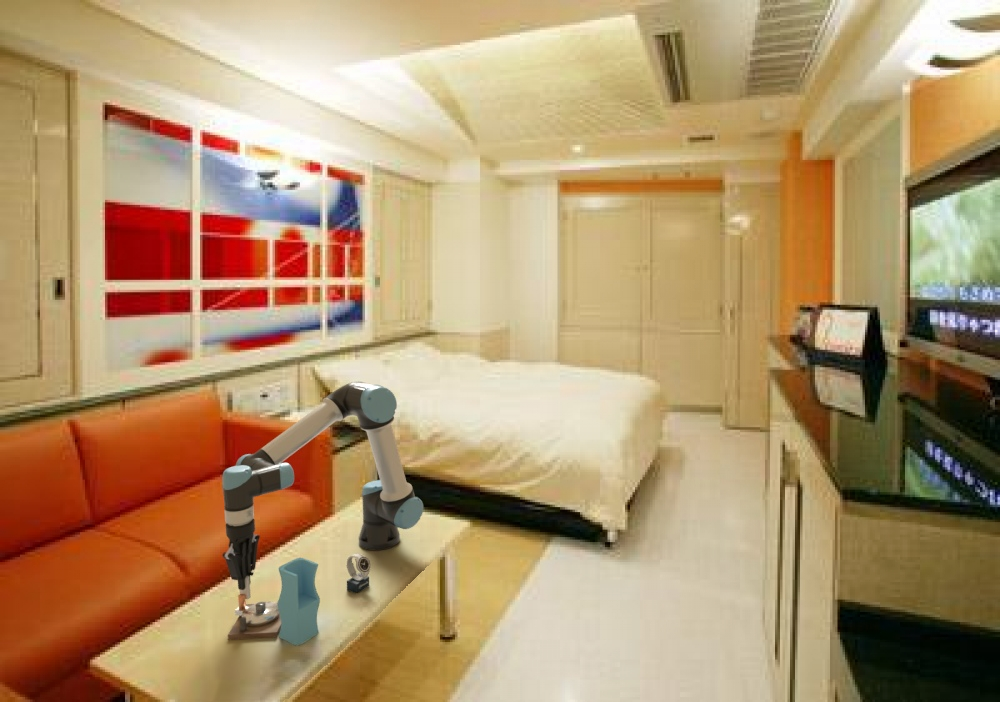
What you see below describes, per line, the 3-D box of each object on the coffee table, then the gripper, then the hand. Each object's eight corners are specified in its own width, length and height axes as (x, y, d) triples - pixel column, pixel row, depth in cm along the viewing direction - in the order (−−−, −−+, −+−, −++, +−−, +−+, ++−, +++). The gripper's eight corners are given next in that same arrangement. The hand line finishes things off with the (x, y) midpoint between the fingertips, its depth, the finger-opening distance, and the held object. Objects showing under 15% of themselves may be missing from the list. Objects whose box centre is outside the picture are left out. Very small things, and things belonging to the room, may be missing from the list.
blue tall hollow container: (297, 646, 152) (294, 576, 150) (278, 637, 156) (275, 568, 154) (321, 631, 159) (318, 563, 156) (302, 622, 163) (299, 556, 161)
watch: (361, 595, 177) (360, 562, 176) (343, 588, 181) (342, 555, 180) (374, 587, 182) (373, 554, 181) (355, 580, 186) (354, 548, 185)
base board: (246, 608, 170) (246, 593, 169) (291, 606, 171) (290, 590, 170) (228, 639, 155) (227, 622, 154) (277, 637, 156) (276, 620, 156)
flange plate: (286, 608, 166) (286, 590, 166) (265, 628, 157) (265, 609, 156) (249, 603, 169) (248, 585, 168) (226, 622, 159) (225, 604, 159)
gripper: (235, 532, 154) (241, 612, 158) (265, 512, 167) (270, 587, 170) (212, 528, 156) (218, 608, 160) (244, 510, 169) (249, 584, 172)
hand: (245, 597), depth 165 cm, fingers closed
